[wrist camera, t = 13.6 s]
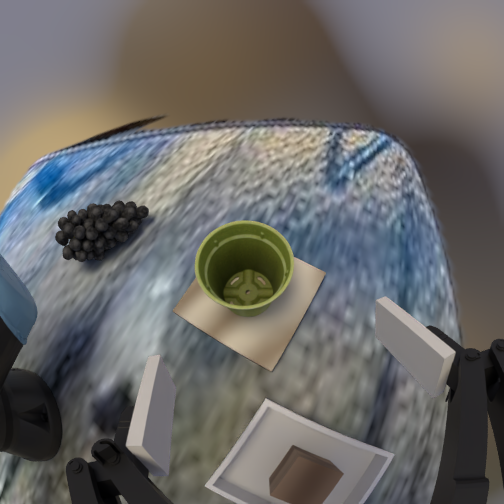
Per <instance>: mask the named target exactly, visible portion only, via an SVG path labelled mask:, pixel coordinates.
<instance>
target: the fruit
mask: <svg viewBox="0 0 504 504" xmlns="http://www.w3.org/2000/svg"><path fill="white" fill-rule="evenodd" d="M148 213H149V209H148V208H147V207H146V206H140V207H138V208H137V206H136V204H135V203H134V202H133V201H132V202H128V203H126V205H125V204H124V203H123V202H122V201H117V202H115V204H114V205H113V206H112V207H111V206H110V205H109V204H105V205H96V204H94V203H93V204H90V205H89V206H88V207H87V211H86V210H84V209H81V210H80V211H79V212H78V215H77V214H76V212H75V211H73V210H71V211H69V212H68V215H67V216H68V219H67V218H65V217H62V218H60V219H59V221H58V226H59V228H60V229H61V230H62V231H58V232H57V233H56V236H55V238H56V241H57V242H58V243H59V244H61V245H62V246H65V245H66V246H65V247H64V248H63V258H65V259H67V260H70V259H72V258H74V259H75V260H78V261H80V262H84V261H85V260H86V259H87V260H91V259H93V258H95V259H96V260H98V261H99V260H102V259H103V257H104V252H103V251H104V250H105V249H106V250H108V249H110V248H112V247H115V245H116V239H117V240H118V241H120V242H125V241H126V240H127V238H128V234H132V233H133V232H134V231H135V230H137V229H138V225H139V224H140V223H141V219H142V218H145V217H147V216H148ZM68 239H71V240H70V242H69V245H67V244H68Z"/></svg>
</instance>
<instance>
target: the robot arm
mask: <svg viewBox="0 0 504 504" xmlns="http://www.w3.org/2000/svg"><path fill="white" fill-rule="evenodd" d="M36 318H37V307H36V303H35V301H34V299H33V297H32V295H31V294H30V292H29V291H28V289H27V288H26V286H25V285H24V284H23V282H22V281H21V279H20V278H19V277H18V276H17V274H16V273H15V272H14V270H13V269H12V268H11V267H10V265H9V264H8V263H7V262H6V260H5V259H4V258H3V257H2V255H1V254H0V452H7V453H10V454H13V455H16V456H20V457H22V458H24V459H26V460H29V461H46V460H49V459H51V458H52V457H54V456H55V454H56V453H57V451H58V449H59V447H60V443H61V436H62V427H61V419H60V414H59V410H58V407H57V404H56V401H55V399H54V396H53V394H52V392H51V391H50V389H49V387H48V386H47V384H46V383H45V382H44V381H43V380H42V379H41V378H40V377H39V376H38V375H37V374H35V373H33V372H31V371H28V370H24V369H20V368H13V369H11V368H12V366H13V364H14V362H15V360H16V358H17V356H18V354H19V352H20V350H21V348H22V347H23V345H25V344H26V343H27V337H28V335H29V333H30V331H31V329H32V327H33V325H34V323H35V321H36ZM375 337H376V338H377V339H378V340H379V341H380V342H381V343H382V344H383V345H384V346H385V347H386V348H387V349H388V350H389V351H390V352H391V354H392V355H393V356H394V357H395V358H396V359H397V360H398V361H399V362H400V363H401V364H402V365H403V366H404V367H405V369H406V370H407V371H408V372H409V373H410V374H411V375H412V376H413V377H414V378H415V379H416V380H417V382H418V383H419V384H420V385H421V386H422V387H423V388H424V389H425V390H426V391H427V392H428V394H429V395H430V396H431V397H432V398H435V397H436V396H438V395H439V394H441V393H443V392H444V389H445V386H446V384H447V385H448V386H449V387H450V389H449V392H448V395H447V398H446V401H445V402H447V400H448V411H447V422H446V430H445V438H444V445H443V451H442V457H441V462H440V467H439V472H438V477H437V481H436V485H435V489H434V493H433V497H432V500H431V503H430V504H486V502H487V496H488V490H489V480H488V479H487V478H485V467H486V455H487V436H488V434H487V433H488V414H489V418H490V421H491V425H492V429H493V432H494V437H495V441H496V445H497V450H498V455H499V460H500V466H501V472H502V478H503V487H504V340H503V339H496V340H494V341H493V342H492V344H491V347H490V349H488V350H485V351H482V352H480V351H478V350H476V349H472V348H469V349H464V348H463V347H461V346H460V345H459V344H457V343H456V342H455V341H454V340H452V339H451V338H450V337H448V336H447V335H446V334H444V333H443V332H442V331H441V330H440V329H438V328H436V327H433V326H430V325H429V326H427V327H424V326H423V325H422V324H421V323H419V322H418V321H417V320H416V319H414V318H413V317H412V316H411V315H409V314H408V313H407V312H405V311H404V310H403V309H401V308H400V307H399V306H398V305H396V304H395V303H394V302H392V301H391V300H390V299H388V298H387V297H383V298H381V299H378V300H376V324H375ZM175 395H176V387H175V385H174V383H173V381H172V378H171V376H170V374H169V372H168V370H167V368H166V366H165V364H164V361H163V359H162V357H161V355H155V356H148V360H147V363H146V367H145V370H144V374H143V377H142V381H141V385H140V389H139V392H138V396H137V400H136V404H135V406H129V407H126V408H125V409H124V411H123V412H122V413H121V416H120V420H119V423H118V429H117V431H116V434H115V438H114V441H113V440H111V439H101V440H99V441H97V442H96V443H95V444H94V445H93V447H92V450H91V453H92V456H93V457H94V458H95V459H96V460H97V461H95V462H90V463H87V462H86V461H85V460H84V459H82V458H74V459H72V460H70V461H69V462H68V464H67V466H66V474H67V480H68V486H69V491H70V496H71V500H72V504H122V503H121V500H120V498H119V495H122V496H123V497H124V498H125V500H126V501H127V502H128V504H173V503H172V502H171V501H170V500H169V499H168V498H167V497H166V496H165V495H164V494H163V493H162V492H161V491H160V490H159V489H158V488H157V486H156V485H155V484H154V483H153V482H152V481H151V480H150V479H149V478H148V472H150V473H151V474H152V475H153V476H169V462H170V448H171V435H172V424H173V414H174V404H175ZM487 411H488V414H487Z"/></svg>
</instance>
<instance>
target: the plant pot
mask: <svg viewBox="0 0 504 504" xmlns="http://www.w3.org/2000/svg"><path fill="white" fill-rule="evenodd" d="M293 271H294V256H293V252H292V249H291V247H290V245H289V243H288V242H287V240H286V239H285V238H284V237H283V236H282V235H281V234H280V233H279V232H278V231H276V230H275V229H273V228H272V227H270V226H268V225H265V224H263V223H259V222H255V221H235V222H231V223H228V224H225V225H223V226H220V227H219V228H217V229H215V230H214V231H213V232H211V233H210V234H209V235H208V236H207V237H206V238H205V239H204V241H203V242H202V244H201V245H200V247H199V249H198V252H197V255H196V259H195V274H196V278H197V281H198V283H199V285H200V287H201V288H202V290H203V291H204V292H205V294H206V295H207V296H208V297H209V298H211V299H212V300H213V301H215V302H216V303H218V304H220V305H222V306H225V307H227V308H228V309H229V310H230V311H232V312H233V313H235V314H236V315H239V316H243V317H253V316H257V315H259V314H261V313H263V312H264V311H265V310H266V309H267V308H268V307H269V306H270V304H271V303H272V302H273V301H274V300H275V299H277V298H278V297H279V296H280V295H281V294H282V293H283V292H284V291H285V289H286V288H287V287H288V285H289V283H290V281H291V279H292V276H293ZM236 277H239V279H238V280H237V281H235V282H234V283H233V284H232V285H231V282H232V281H233V280H234V279H235V278H236ZM257 277H261V278H262V279H263V280H264V281H265V283H266V284H265V285H264V284H263V283H262V282H261V281H260V280H258V279H257ZM247 290H249V291H250V293H249V294H246V291H247ZM230 302H233V304H234V305H232V304H230Z"/></svg>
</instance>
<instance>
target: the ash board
mask: <svg viewBox="0 0 504 504" xmlns="http://www.w3.org/2000/svg"><path fill="white" fill-rule="evenodd" d="M325 274H326V273H325V272H323V271H321V270H319V269H317V268H315V267H313V266H311V265H309V264H307V263H305V262H303V261H301V260H299V259H297V258H295V257H294V271H293V276H292V279H291V281H290V283H289V285H288V287H287V288H286V289H285V291H284V292H283V293H282V294H281V295H280V296H279V297H278V298H277V299H275V300H274V301H273V302H272V303H271V304H270V306H269V307H268V308H267V309H266V310H265V311H264V312H263V313H261V314H259V315H257V316H253V317H243V316H239V315H236V314H235V313H233V312H232V311H230V310H229V309H228V308H227V307H225V306H222V305H220V304H218V303H216V302H215V301H213V300H212V299H211V298H209V297H208V296H207V295H206V294H205V292H204V291H203V290H202V288H201V287H200V285H199V283H198V281H197V278H196V279H195V280H194V281H193V283H192V284H191V286H190V287H189V288H188V290H187V291H186V293H185V294H184V295H183V297H182V298H181V300H180V301H179V302H178V304H177V305H176V307H175V308H174V310H173V312H174V313H176V314H177V315H178V316H180V317H181V318H183V319H184V320H186V321H187V322H189V323H191V324H192V325H194V326H195V327H197V328H198V329H200V330H201V331H203V332H204V333H206V334H208V335H209V336H211V337H212V338H214V339H216V340H217V341H219V342H220V343H222V344H224V345H225V346H227V347H229V348H230V349H232V350H234V351H235V352H237V353H239V354H241V355H242V356H244V357H246V358H247V359H249V360H251V361H253V362H254V363H256V364H258V365H260V366H262V367H263V368H265V369H267V370H269V371H271V372H272V370H273V369H274V367H275V365H276V364H277V362H278V360H279V358H280V357H281V355H282V353H283V352H284V350H285V348H286V346H287V345H288V343H289V341H290V340H291V338H292V336H293V334H294V332H295V331H296V329H297V327H298V325H299V323H300V322H301V320H302V318H303V316H304V314H305V312H306V311H307V309H308V307H309V305H310V303H311V301H312V299H313V297H314V295H315V294H316V292H317V290H318V288H319V286H320V284H321V282H322V280H323V278H324V276H325ZM238 279H239V277H236V278H235V279H234V280H233V281H232V282H231V285H232V284H233V283H234V282H235V281H237V280H238ZM257 279H258V280H260V281H261V282H262V283H263V284H264V285H265V284H266V283H265V281H264V280H263V279H262V278H261V277H257ZM249 293H250V291H249V290H247V291H246V294H249ZM230 304H232V305H234V304H233V302H230Z"/></svg>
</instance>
